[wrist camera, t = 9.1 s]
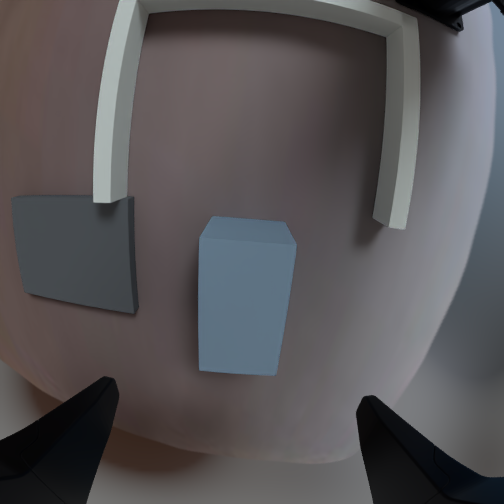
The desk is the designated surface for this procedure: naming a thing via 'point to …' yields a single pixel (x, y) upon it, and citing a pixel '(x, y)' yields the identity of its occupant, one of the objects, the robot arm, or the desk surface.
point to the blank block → (243, 294)
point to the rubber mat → (77, 249)
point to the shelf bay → (293, 3)
